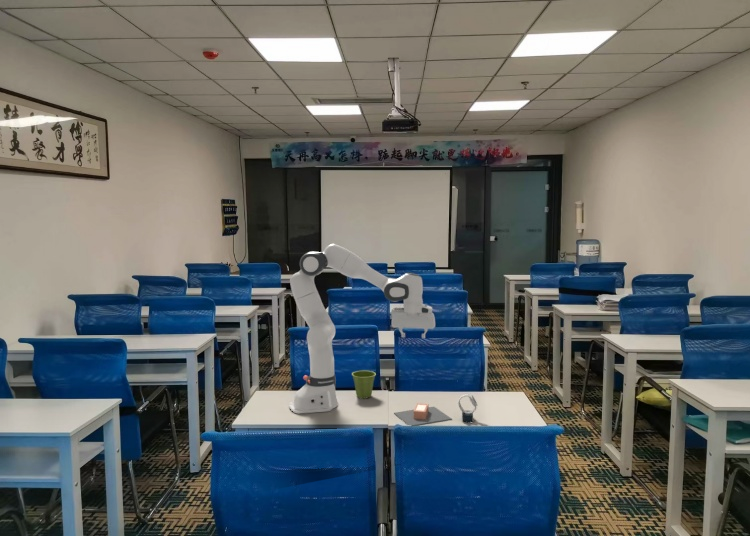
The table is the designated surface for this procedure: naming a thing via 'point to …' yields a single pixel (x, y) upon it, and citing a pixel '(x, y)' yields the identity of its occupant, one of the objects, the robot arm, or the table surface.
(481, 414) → the table surface
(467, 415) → the watch
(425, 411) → the block
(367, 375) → the plant pot
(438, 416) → the mat
